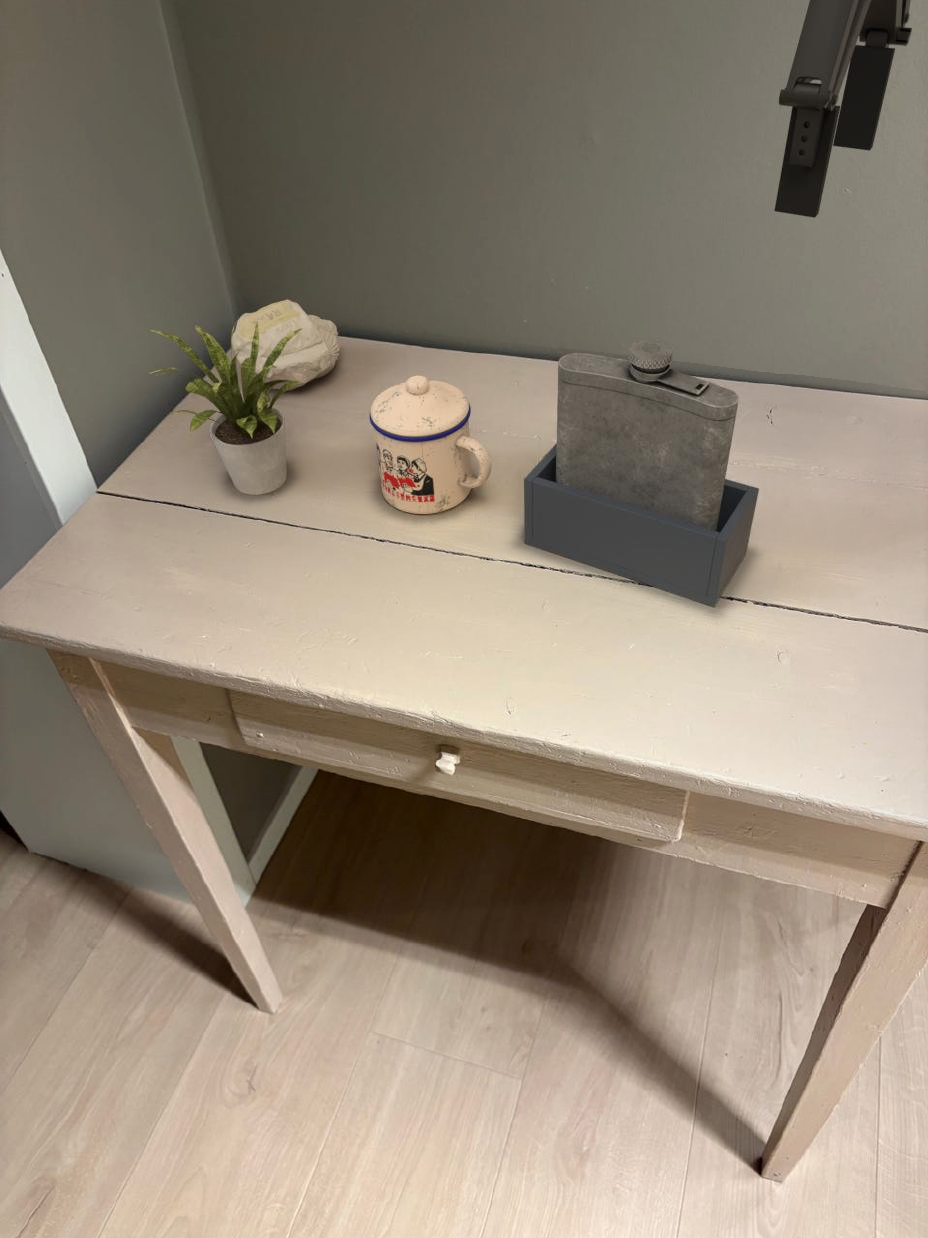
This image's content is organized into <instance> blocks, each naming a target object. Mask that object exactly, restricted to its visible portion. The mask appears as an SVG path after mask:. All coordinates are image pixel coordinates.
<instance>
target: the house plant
mask: <svg viewBox="0 0 928 1238" xmlns="http://www.w3.org/2000/svg"><path fill="white" fill-rule="evenodd" d="M237 321H238V320H236V321H235V323H234V324H233V326H232V329H231V334H230V335H231V336H230V353H231V357H232V359H231V362H230V359H229V357H228V355H227V353H226V351H225V350H224V348H223V347H222V346H221V344H220V343H219V342H218V341H217V340H216V339H215V338H214V337H213V336H212V335H211V334H210V333H208V332H207V331H205V330H204V329H203V328H201V326H199V325H197V324H194V325H195V326H194V328H195V330H196V331H197V332H198V334H199V335H200V337H201V338H202V340H203V342H204V344H205V347H206V349H207V352H208V356H209V358H210V359H211V362H212V364H213V366H214V367H215V370H216V371H217V373H218V375H219V377H220V380H221V381H220V380H219V379H218V378H217V376H215V374H214V373H213V372H212V371H211V370H210V369H209V368H208V366H207V365H206V364H205V363H204V362H203V360H202V359H201V358H200V357H199V356H198V355H197V353H196V352H195V351H194V350H193V349H192V348H191V346H190V345H189V344H187V343H186V342H185V341H184V340H182V339H181V338H179V337H177V336H175V335H173V334H169V333H167V332H164V331H160V330H152V329H149V332H153V333H156V334H158V335H160V336H163V337H165V338H168V339H169V340H170V341H172V342H174V343H175V344H176V345H178V346H179V348H181V349H182V350H183V351H184V352H185V353H186V355H187V356H188V357H189V358H190V359H191V361H192V362H193V363H194V364H195V365H196V366H197V367H198V368H199V369H200V370H201V371H202V372H203V373H204V374H205V375H206V377H208V379H209V380H210V381H211V383H210V382H208V381H207V380H206V379H204V378H202V377H200V376H199V375H198V374H196V373H193V372H191V371H187V370H184V369H181V368H177V367H164V368H159V369H155V370H153V371H152V372H149V373H148V375H151V374H154V373H157V372H161V373H158V374H156V375H155V377H158V376H161V375H167V374H168V375H169V374H171V375H172V374H173V375H179V376H181V377H183V378H185V379H187V380H189V382H188V384H187V385H186V386H185V388H184V390H185V391H186V392H188V393H192V394H195V395H197V396H201V397H203V398H206V400H208V401H209V402H210V403H211V404H213V406H215V407H216V408H217V410H219V411H217V410H215V409H205V410H202V411H201V412H198V413H197V412H195V411H191V410H188V409H180V410H175V411H172V412H170V413H168V414H167V416H171V415H175V414H181V413H185V414H186V413H187V414H193V415H194V416H193V417H192V418H191V421H190V429H189V436H190V437H191V435H192V433H193V432H194V431H196V430H197V429H199V428H200V427H201V426H202V425H203V424H205V423H206V422H207V420H210V421H212V423H211V425H210V427H209V434H210V437H211V439H212V441H213V443H214V446H215V447H216V450H217V452H218V454H219V456H220V458H221V460H222V463H223V464H224V466H225V468H226V471H227V472H228V474H229V477H230V479H231V481H232V484H233V485H234V487H235V489H236V490H237V491H238V492H241V493H242V494H246V495H250V496H251V495H252V496H259V495H264V494H268V493H271V492H274V491H276V490H278V489H279V488H281V487H282V486H283V485H284V484H285V482H286V480H287V478H288V477H287V476H288V475H287V474H288V473H287V441H286V438H287V436H286V435H287V434H286V417H285V416H284V414H283V413H282V412H281V411H280V410H279V409H277V408H275V407H274V405H275V403H276V401H277V400H278V399H279V398H280V397H281V396H282V395H283V394H284V393H285V392H287V391H289V390H288V389H289V388H291V387H292V386H294V385H296V384H302V383H299V381H293V380H288V379H282V380H274V381H270V382H267V383H264V381H265V379H266V376H267V374H268V372H269V370H270V368H275V367H276V366H274V365H273V364H274V362H275V361H276V360H277V358H278V357H279V356H280V354H281V353H282V351H283V349H284V347H285V345H286V343H287V342H288V341H289V340H290V339H291V338H292V337H293V336H295V335H296V334H297V333H298V332H299V331H300V330H302V329H304V328H302V329H298V330H296V331H293V332H291V333H289V334H288V335H286V336H285V337H284V338H283V339H282V340H281V341H280V342H279V343H278V344H277V346H276V347H275V348H274V350H273V351H272V352H271V354H270V355H269V357H268V358H267V360H266V362H265V364H264V366H263V368H262V371H261V372H260V373H259V374H257V375H256V376H255V368H256V361H257V356H258V349H259V330H258V322H257V323H256V326H255V332H254V337H253V340H252V347H251V356H250V358H246V359H245V360H244V361H243V362H242V364H240V381H241V389H240V385H239V384H240V383H239V374H238V369H237V354H238V353H239V352H240V351H241V350H242V349H243V347H242V348H241V349H240V351H239V352H238V353H237V354H234V357H233V346H232V336H233V333H234V332H235V329H236V325H237ZM169 370H177V371H183V372H186V373H188V374H191V375H193V376H194V377H195V379H191V378H189V377H187V376H185V375H182V374H180V373H177V372H163V371H169ZM162 372H163V373H162ZM287 381H292V382H288V383H286V384H284V385H283V386H282V387H281V388H280V389H277V391H276V392H275V393H274V396H273V397H272V398H271V396H270V394H269V393H270V391H271V389H273V388H272V387H273V386H274V385H276V384H278V383H282V382H287ZM241 391H242V393H241ZM216 413H218V414H219V415H218V416H217V417H216V418H215V419H212V418H211V417H212V416H214V415H215V414H216Z"/></svg>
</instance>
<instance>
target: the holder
mask: <svg viewBox="0 0 928 1238" xmlns="http://www.w3.org/2000/svg"><path fill="white" fill-rule="evenodd" d="M556 450H557V442H556V443H555V444H554V445H553V447H551V449H550V450H549V451H548V452H547V453H546V454H545V455H544V457H542V459H541V460H540V461H539V462H538V463H537V464H536V465H535V466H534V467H533V468H532V469H531V471H530V472H529V473H528V474H527V475H526V476H525V477H524V478H523V501H524V503H523V508H524V509H523V514H524V515H523V517H524V519H523V520H524V521H523V523H524V525H523V526H524V529H523V530H524V544H526V545H529V546H532V547H535V548H538V549H541V550H543V551H546V552H549V553H552V554H556V555H557V556H561V557H564V558H567V559H570V560H573V561H576V562H579V563H582V564H585V565H587V566H590V567H593V568H596V569H600V570H602V571H605V572H609V573H612V574H614V575H618V576H620V577H623V578H627V579H630V580H632V581H636V582H638V583H641V584H645V585H647V586H650V587H653V588H657V589H659V590H661V591H665V592H668V593H671V594H674V595H677V596H680V597H682V598H685V599H689V600H692V601H695V602H697V603H700V604H704V605H706V606H709V607H712V608H715V607H716V605H717V604H718V602H719V600H720V598H721V597H722V595H723V594H724V592H725V590H726V588H727V587H728V586H729V584H730V582H731V580H732V579H733V577H734V575H735V573H736V571H737V570H738V569H739V567H740V566H741V563H742V562H743V560H744V558H745V557H746V556H747V551H748V547H749V542H750V536H751V531H752V527H753V522H754V517H755V511H756V507H757V502H758V497H759V491H760V488H759V487H755V486H752V485H749V484H745V483H741V482H737V481H734V480H731V479H727V478H725V483H724V489H723V495H722V501H721V506H720V512H719V518H718V524H717V530H716V531H713V530H710V529H707V528H703V527H700V526H697V525H693V524H690V523H687V522H684V521H680V520H677V519H674V518H670V517H667V516H664V515H660V514H657V513H654V512H651V511H647V510H644V509H641V508H637V507H634V506H631V505H628V504H624V503H621V502H618V501H614V500H611V499H608V498H605V497H601V496H598V495H595V494H591V493H588V492H585V491H581V490H578V489H575V488H572V487H568V486H565V485H562V484H558V483H556Z"/></svg>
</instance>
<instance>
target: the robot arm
mask: <svg viewBox="0 0 928 1238" xmlns="http://www.w3.org/2000/svg"><path fill="white" fill-rule="evenodd" d="M911 2H912V1H911V0H809V2H808V6H807V10H806V13H805V16H804V21H803V25H802V29H801V32H800V35H799V39H798V41H797V42H798V43H797V46H796V50H795V54H794V57H793V60H792V61H793V62H792V64H791V68H790V72H789V75H788V79H787V82H786V86H785V87H784V89H782V88H781V89H780V92H779V96H778V105H779V106H783V107H790V108H791V112H790V118H789V123H788V130H787V134H786V136H787V137H786V142H785V147H784V153H783V159H782V166H781V170H780V176H779V181H778V188H777V192H776V200H775V205H774V210H773V211H774V212H777V213H783V214H788V215H789V214H790V215H796V216H802V217H808V218H814V219H815V218H817V216H818V215H819V213H820V208H821V203H822V200H823V199H822V198H823V193H824V189H825V185H826V184H825V183H826V178H827V174H828V169H829V165H830V160H831V154H832V149H833V147H839V148H846V149H855V150H863V151H871V150H872V149H873V147H874V142H875V138H876V134H877V131H878V130H877V129H878V125H879V121H880V116H881V112H882V109H883V104H884V99H885V96H886V91H887V87H888V82H889V78H890V74H891V71H892V70H891V69H892V66H893V61H894V56H895V53H896V48H895V47H890V46H901V47H907V46H908V44H909V42H910V39H911V35H912V31H913V28H912V27H906V25H907V24H908V22H909V20H910V8H911ZM858 39H859V43H864V45H862V44H857V43H858ZM845 77H846V80H845ZM844 80H845V84H844V90H843V95H842V100H841V103H840V104H841V105H837V104H838V102H839V94H840V91H841V90H842V86H843V83H844ZM812 81H820V83H817V82H812Z"/></svg>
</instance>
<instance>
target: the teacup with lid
mask: <svg viewBox="0 0 928 1238" xmlns="http://www.w3.org/2000/svg"><path fill="white" fill-rule="evenodd" d="M471 413H472V407H471V404H470V402H469V400H468V397H467V396H466V395H465V394H464V392H463V391H462V390H460V389H459V388H458V387H456V386H455V385H452V384H450V383H448V382H445V381H439V380H433V379H428V378H427V377H425V376H423V375H413V376H410V377H409V378H408V379H407V380H406V381H404V382H401V383H398V384H394V385H392V386H390V387H389V388H387V389H385V390H383V391H382V392H381V393H380V394H379V395H377V396H376V397H375V399H374V400H373V402H372V404H371V406H370V410H369V422H370V424H371V426H372V427H373V433H374V434H373V435H374V441H375V442H374V443H375V448H376V456H377V463H378V472H379V479H380V485H381V491H382V495H383V497H384V499H385V500H386V501H387V502H388V504H389V505H391V506H392V507H394V508H396V509H398V510H400V511H401V512H405V513H408V514H409V513H410V514H414V515H415V514H416V515H431V514H437V513H441V512H442V513H443V512H445V511H448V510H451V509H453V508H455V507H456V506H458V505H460V504H461V503H462V502H464V500H465V499H466V498H467V497H468V495H470V493H471V490H472V489H473V488H478V487H481V485H483V484H484V483H485V482H486V481H487V480H488V479H489V477H490V475H491V472H492V459H491V457H490V454H489V452H488V450H487V449H486V447H484V445H482V443H481V442H479V441H478V440H476V439H473V438H472V437H470V421H469V419H470V417H471ZM471 454H472V455H473V456H474V457H475V459H476V460H477V462H478V465H479V473H478V476H473V475H472V460H471V459H472V458H471V457H472V456H471Z"/></svg>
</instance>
